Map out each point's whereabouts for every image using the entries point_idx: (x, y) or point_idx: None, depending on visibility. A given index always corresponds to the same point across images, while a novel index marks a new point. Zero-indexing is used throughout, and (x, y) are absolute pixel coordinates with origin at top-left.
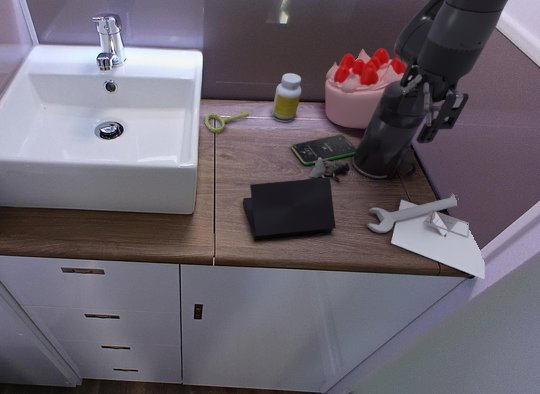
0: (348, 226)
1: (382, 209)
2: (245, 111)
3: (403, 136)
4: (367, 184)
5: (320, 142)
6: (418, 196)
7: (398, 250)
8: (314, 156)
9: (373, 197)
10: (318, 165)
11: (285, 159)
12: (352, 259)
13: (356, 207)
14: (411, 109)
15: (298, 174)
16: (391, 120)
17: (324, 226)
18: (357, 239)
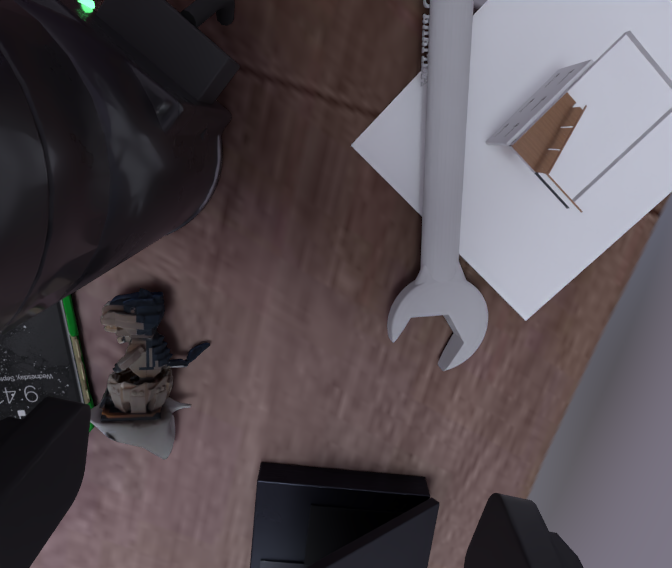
0: (416, 412)
1: (409, 300)
2: None
3: (136, 191)
4: (239, 234)
5: None
6: (353, 53)
7: (556, 309)
8: (52, 385)
9: (313, 252)
10: (135, 439)
11: None
12: (533, 462)
13: (344, 342)
14: (64, 431)
15: (139, 463)
16: (24, 321)
17: (428, 538)
18: (473, 411)
